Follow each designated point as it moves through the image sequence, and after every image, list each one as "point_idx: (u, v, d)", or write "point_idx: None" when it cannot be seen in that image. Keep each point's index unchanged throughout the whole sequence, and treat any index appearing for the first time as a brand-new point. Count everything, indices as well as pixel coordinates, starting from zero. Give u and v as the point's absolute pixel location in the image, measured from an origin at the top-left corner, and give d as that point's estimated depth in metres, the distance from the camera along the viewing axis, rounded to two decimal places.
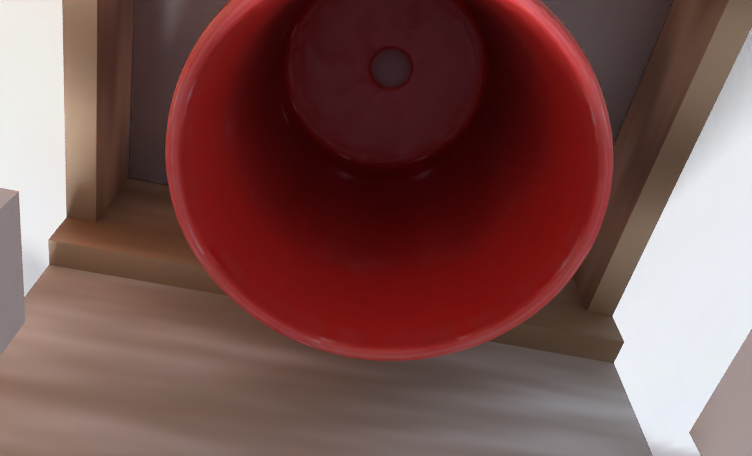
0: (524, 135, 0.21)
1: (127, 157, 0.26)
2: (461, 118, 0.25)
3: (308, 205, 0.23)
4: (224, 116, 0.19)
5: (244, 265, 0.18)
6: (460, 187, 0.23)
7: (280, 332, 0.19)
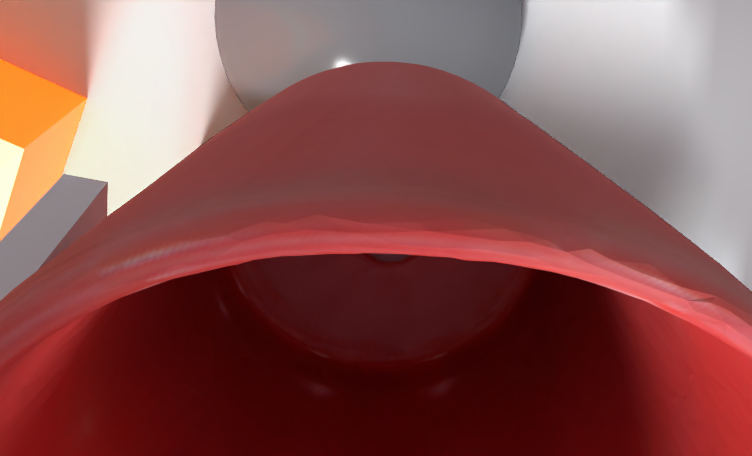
0: (625, 391, 0.12)
1: None
2: (501, 303, 0.16)
3: None
4: (69, 415, 0.10)
5: None
6: (504, 431, 0.15)
7: None
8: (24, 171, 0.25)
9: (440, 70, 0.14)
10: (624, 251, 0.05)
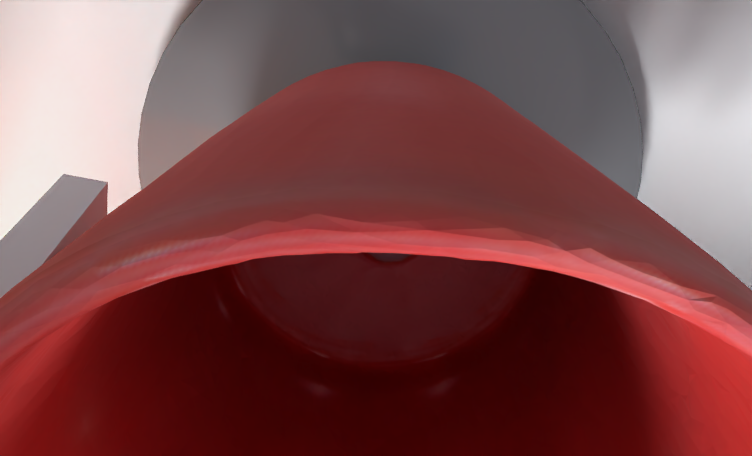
0: (625, 390, 0.12)
1: None
2: (501, 302, 0.16)
3: None
4: (68, 415, 0.10)
5: None
6: (503, 431, 0.14)
7: None
8: None
9: (440, 70, 0.13)
10: (625, 251, 0.05)
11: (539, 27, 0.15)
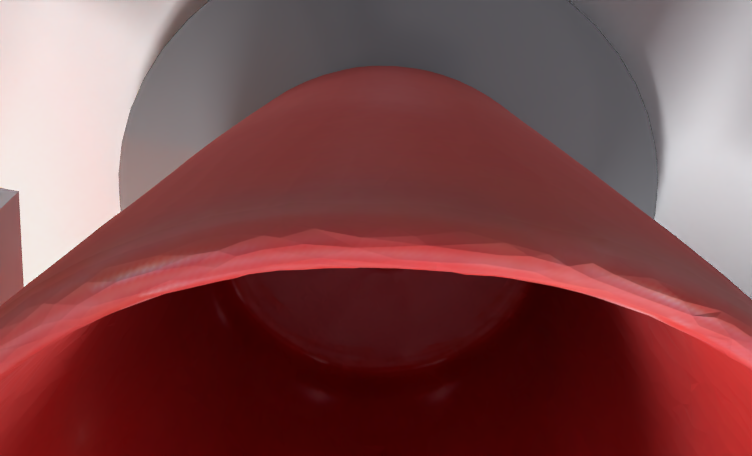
0: (626, 398, 0.12)
1: None
2: (501, 308, 0.16)
3: None
4: (64, 425, 0.09)
5: None
6: (504, 438, 0.14)
7: None
8: None
9: (439, 74, 0.13)
10: (627, 265, 0.05)
11: (548, 51, 0.14)
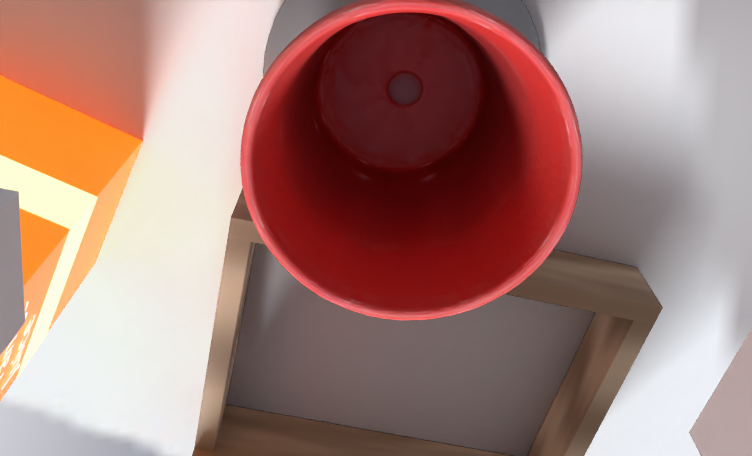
0: (513, 144, 0.26)
1: None
2: (461, 131, 0.30)
3: (335, 198, 0.28)
4: (278, 121, 0.23)
5: (292, 240, 0.23)
6: (460, 187, 0.29)
7: (319, 294, 0.23)
8: (94, 214, 0.28)
9: None
10: (480, 11, 0.19)
11: None
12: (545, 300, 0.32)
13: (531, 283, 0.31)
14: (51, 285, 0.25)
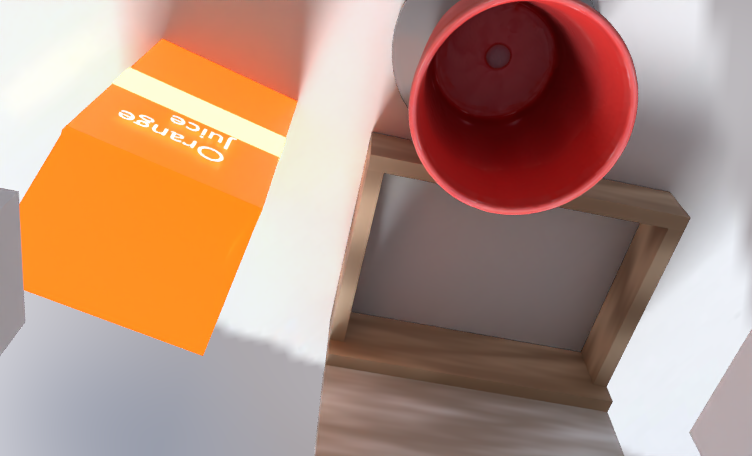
0: (583, 92, 0.37)
1: None
2: (538, 87, 0.41)
3: (452, 136, 0.38)
4: None
5: (436, 159, 0.34)
6: (541, 127, 0.39)
7: (455, 196, 0.34)
8: None
9: None
10: None
11: None
12: (601, 214, 0.42)
13: (591, 200, 0.42)
14: None
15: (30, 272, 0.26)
